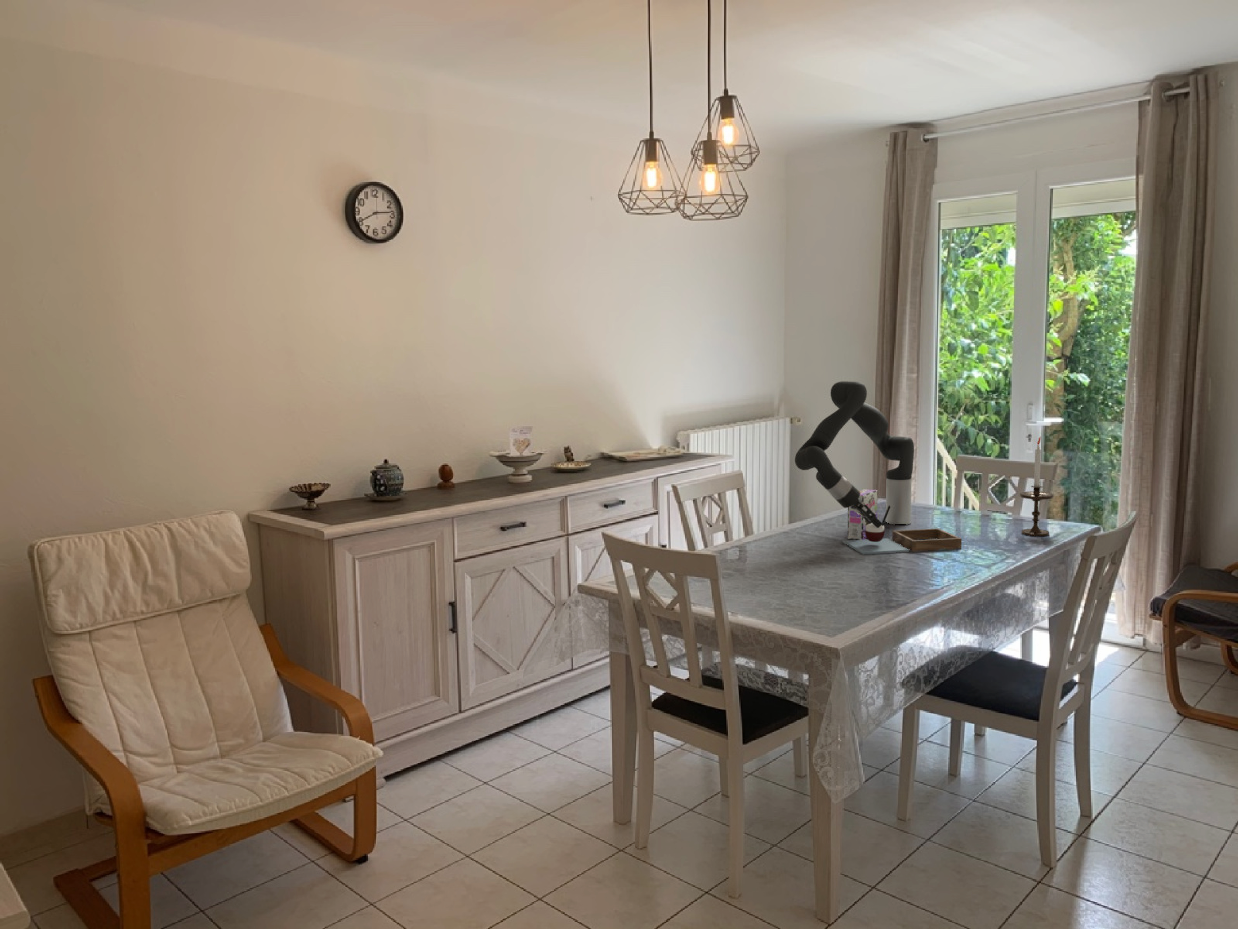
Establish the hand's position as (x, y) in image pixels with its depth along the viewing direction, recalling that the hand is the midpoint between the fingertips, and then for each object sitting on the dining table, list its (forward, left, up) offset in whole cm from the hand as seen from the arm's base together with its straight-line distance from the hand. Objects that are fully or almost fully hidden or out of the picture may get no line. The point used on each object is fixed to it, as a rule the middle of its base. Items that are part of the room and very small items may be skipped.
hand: (875, 523), depth 316 cm
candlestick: (-7, +62, -8) cm, 63 cm away
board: (0, 0, -8) cm, 8 cm away
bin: (0, +18, -8) cm, 20 cm away
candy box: (-17, +2, -8) cm, 19 cm away
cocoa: (0, 0, -6) cm, 6 cm away
